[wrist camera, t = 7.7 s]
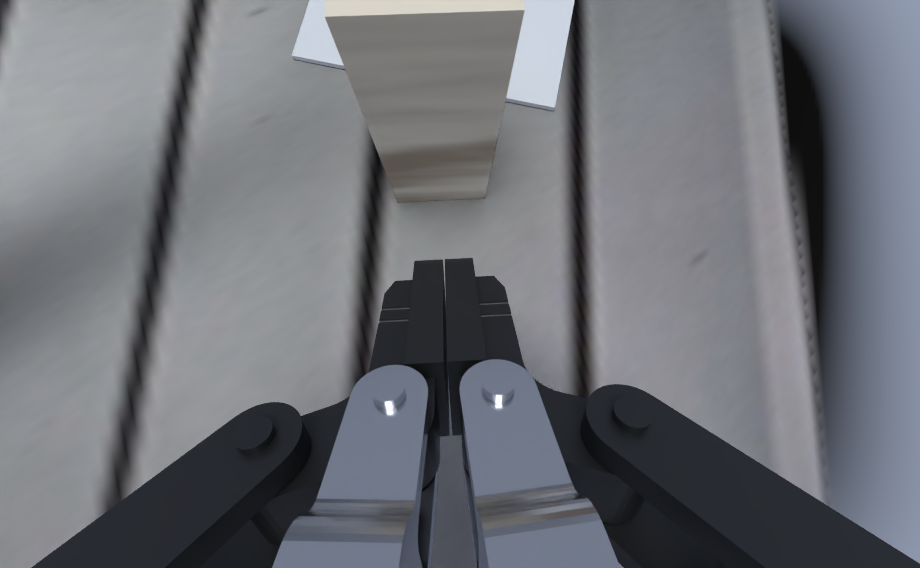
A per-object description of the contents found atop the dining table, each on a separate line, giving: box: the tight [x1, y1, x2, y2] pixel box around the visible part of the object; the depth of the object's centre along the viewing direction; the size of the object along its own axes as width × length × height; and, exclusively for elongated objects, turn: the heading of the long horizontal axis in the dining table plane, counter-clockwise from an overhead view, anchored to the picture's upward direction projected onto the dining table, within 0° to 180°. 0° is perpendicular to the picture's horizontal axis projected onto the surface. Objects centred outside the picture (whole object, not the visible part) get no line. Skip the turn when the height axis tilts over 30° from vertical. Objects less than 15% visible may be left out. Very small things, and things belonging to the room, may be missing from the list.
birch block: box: [325, 0, 525, 202], centre depth 16 cm, size 5×5×12 cm
